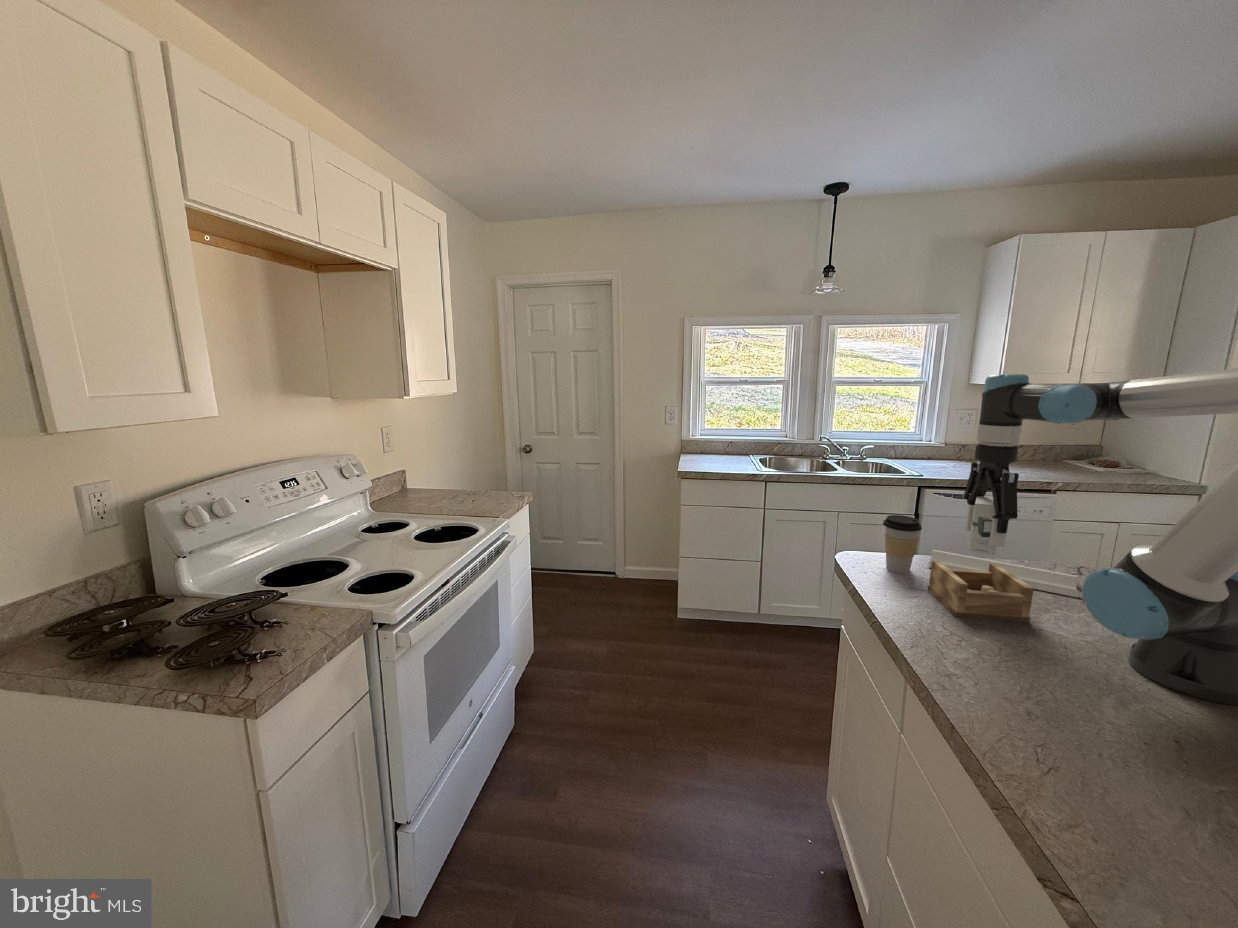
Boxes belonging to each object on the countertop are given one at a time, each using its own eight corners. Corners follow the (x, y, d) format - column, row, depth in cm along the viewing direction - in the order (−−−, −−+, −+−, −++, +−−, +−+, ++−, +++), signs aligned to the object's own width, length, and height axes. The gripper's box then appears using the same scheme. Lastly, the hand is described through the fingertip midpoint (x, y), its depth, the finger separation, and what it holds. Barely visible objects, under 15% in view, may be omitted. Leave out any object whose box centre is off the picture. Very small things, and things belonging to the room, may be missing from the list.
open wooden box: (1029, 622, 105) (1035, 588, 103) (954, 617, 108) (959, 583, 106) (992, 594, 118) (997, 563, 117) (927, 589, 121) (931, 560, 120)
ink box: (969, 540, 115) (976, 494, 113) (995, 545, 112) (1002, 497, 110) (968, 551, 109) (974, 502, 106) (995, 556, 106) (1002, 505, 103)
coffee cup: (922, 577, 129) (928, 525, 126) (885, 574, 130) (890, 523, 128) (909, 563, 138) (914, 514, 135) (874, 561, 140) (878, 513, 137)
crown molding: (928, 570, 135) (929, 558, 134) (932, 557, 144) (933, 546, 143) (1078, 600, 116) (1080, 586, 115) (1072, 584, 125) (1074, 571, 124)
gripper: (1050, 451, 94) (1033, 556, 98) (987, 437, 116) (975, 524, 120) (1008, 451, 96) (993, 554, 100) (953, 436, 117) (943, 522, 121)
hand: (983, 537), depth 110 cm, fingers closed on ink box, 9 cm apart
